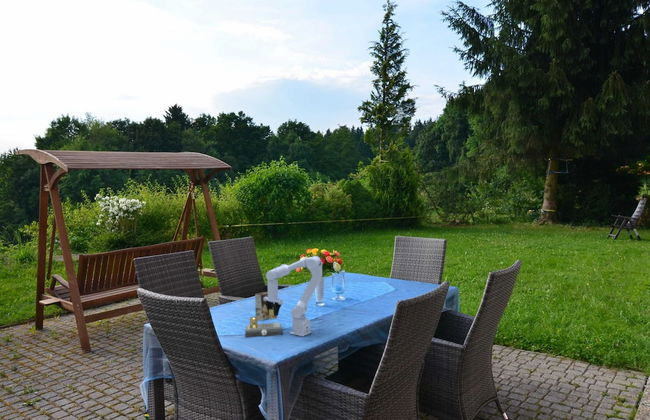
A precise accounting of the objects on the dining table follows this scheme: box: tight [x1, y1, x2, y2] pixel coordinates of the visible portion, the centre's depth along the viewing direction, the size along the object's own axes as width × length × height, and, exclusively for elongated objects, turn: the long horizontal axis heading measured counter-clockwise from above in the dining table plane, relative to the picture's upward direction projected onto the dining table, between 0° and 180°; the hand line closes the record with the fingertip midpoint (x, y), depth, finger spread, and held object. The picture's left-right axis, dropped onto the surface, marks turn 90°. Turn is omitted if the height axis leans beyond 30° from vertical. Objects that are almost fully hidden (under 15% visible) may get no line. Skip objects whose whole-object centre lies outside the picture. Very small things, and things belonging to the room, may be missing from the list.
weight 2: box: [269, 308, 278, 320], centre depth 266 cm, size 4×4×5 cm
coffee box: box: [254, 291, 270, 322], centre depth 295 cm, size 9×6×16 cm
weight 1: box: [249, 316, 259, 328], centre depth 266 cm, size 4×4×5 cm
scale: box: [245, 322, 284, 338], centre depth 265 cm, size 14×20×4 cm
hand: (273, 315), depth 266 cm, fingers closed on weight 2, 4 cm apart
